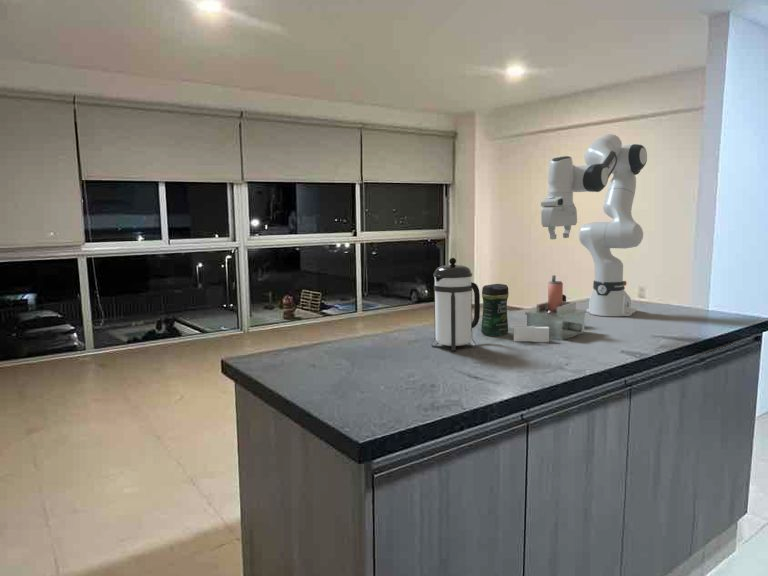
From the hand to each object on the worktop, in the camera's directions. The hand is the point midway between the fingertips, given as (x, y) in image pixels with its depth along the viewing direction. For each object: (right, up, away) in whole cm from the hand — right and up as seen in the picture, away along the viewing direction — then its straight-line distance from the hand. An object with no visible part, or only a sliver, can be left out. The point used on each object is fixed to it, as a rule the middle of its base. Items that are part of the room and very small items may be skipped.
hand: (559, 238), depth 203 cm
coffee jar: (-25, -36, -3) cm, 43 cm away
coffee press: (-41, -38, -18) cm, 59 cm away
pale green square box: (-2, -35, -6) cm, 36 cm away
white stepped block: (-14, -38, -15) cm, 43 cm away
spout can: (-3, -27, -4) cm, 27 cm away
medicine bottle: (+2, -33, +10) cm, 35 cm away
